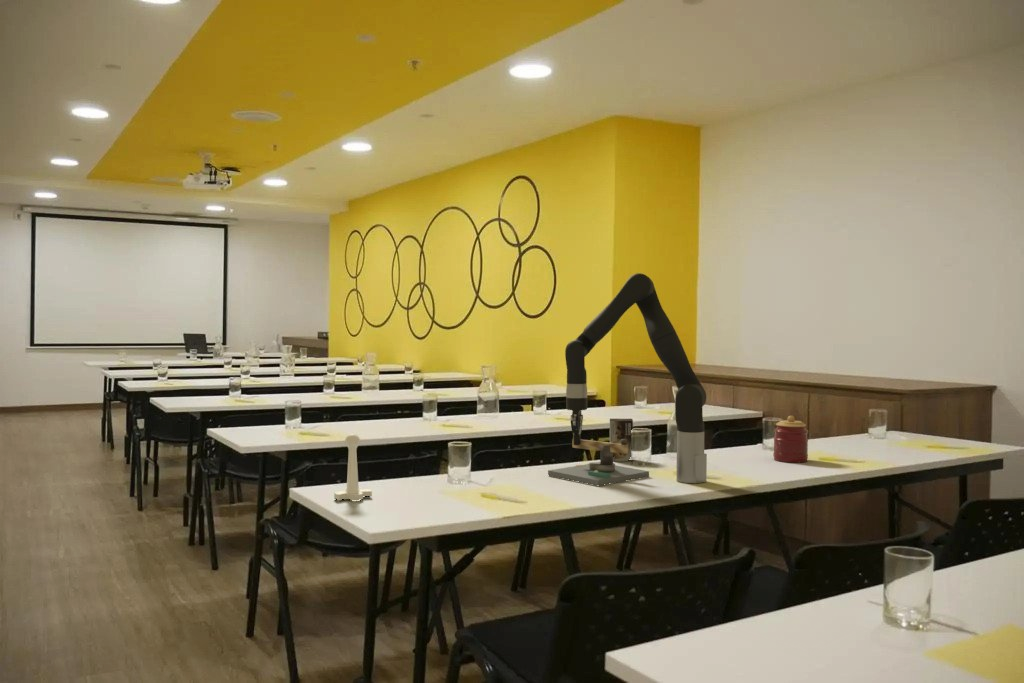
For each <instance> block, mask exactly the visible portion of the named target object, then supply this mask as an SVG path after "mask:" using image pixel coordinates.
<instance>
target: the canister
mask: <svg viewBox="0 0 1024 683" xmlns="http://www.w3.org/2000/svg"><path fill="white" fill-rule="evenodd" d="M775 426H776V428H774V429H773V432H774V437H773V459H774V460H775V461H777V462H781V463H794V464H795V463H796V464H797V463H798V464H799V463H806V462H808V459H809V457H808V456H809V454H808V453H809V452H808V449H809V448H808V446H809V444H808V443H809V438H808V433H809V430H808V429H807V428H806V426H807V424H806V423H804V422H803V421H801V420H795V416H794V415H789V416H788V417H787V419H786V420H785V419H784V420H783V419H782V420H780V421H779V422H776V423H775ZM774 460H773V461H774Z"/></svg>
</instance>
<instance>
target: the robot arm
mask: <svg viewBox="0 0 1024 683" xmlns="http://www.w3.org/2000/svg"><path fill="white" fill-rule="evenodd" d="M635 304H636V305H637V307H638V309H639V311H640V314H641V315H642V317H643V321H644V324H645V327H646V332H647V335H648V338H649V339H650V343H651V345H652V347H653V349H654V351H655V353H656V355H657V357H658V358H659V360H660V361H661V363H662V364H663V365H664V367H665V368H666V369H667V371H668V372H669V373H670V374H671V376H672V378H673V380H674V382H675V385H676V388H677V391H676V394H675V402H674V404H675V405H674V408H675V409H674V411H675V412H674V414H675V423H676V481H677V482H679V483H686V484H701V483H706V482H707V470H708V469H707V464H708V462H707V460H708V458H707V453H705V422H704V419H703V407H704V406H705V404H706V402H707V392H706V390H705V388H704V386H703V385H702V383H701V382H700V380H699V379H698V376H697V375H696V373H695V372H694V370H693V368H692V366H691V363H690V360H689V358H688V356H687V354H686V352H685V349H684V347H683V344H682V342H681V340H680V337H679V336H678V333H677V331H676V329H675V327H674V326H673V324H672V322H671V320H670V318H669V317H668V315H667V314H666V312H665V310H664V309H663V307H662V304H661V302H660V299H659V296H658V294H657V291H656V288H655V284H654V281H653V280H652V279H651V278H650V277H649V276H648V275H646V274H644V273H639V272H638V273H637V272H636V273H634V274H632V275H630V276H629V278H627V280H626V282H624V284H623V286H622V287H621V289H620V290H619V292H618V293H617V294H616V295H615V297H614V298H613V299H612V300H611V301H610V302H609V303H608V304H607V306H605V308H603V310H601V311H600V312H599V313H598V314H597V315H596V316H595V317H594V318H593V319H592V320H591V321H590V322H589V323H588V324H587V325H586V327H584V329H583V331H582V332H581V334H580V335H578V336H577V337H576V338H575V339H574V340H571V341H570V342H568V343H567V344H566V347H565V350H564V351H565V352H564V355H565V357H564V358H565V366H566V388H565V397H566V398H565V401H566V403H565V404H566V405H565V407H566V410H568V411H572V412H571V415H570V428H571V434H572V435H574V445H580V439H581V434H582V432H583V421H584V415H583V414H582V411H586V410H587V409H588V386H587V385H588V384H587V382H588V380H587V375H588V374H587V369H586V367H585V366H586V364H585V362H586V360H585V359H586V358H585V357H587V355H588V354H589V353H591V351H592V350H593V349H594V348H595V346H596V345H597V344H598V343H599V342H600V341H601V340H603V338H605V336H607V334H608V333H610V332H611V330H612V329H613V328H614V327H615V326H616V324H617V323H618V322H619V320H620V319H621V318H622V316H624V314H625V313H626V312H627V311H628V310H629V309H630V308H631V307H632V306H633V305H635Z"/></svg>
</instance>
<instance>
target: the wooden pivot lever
mask: <svg viewBox="0 0 1024 683" xmlns="http://www.w3.org/2000/svg"><path fill="white" fill-rule="evenodd" d="M572 435H573V434H572ZM571 441H572V442H571V443H572V447H571V448H574V449H582V450H590V451H597V452H599V451H600V452H599V454H600V460H599V461H593V462H590V463H588V464H589V470H591V471H595V470H597V471H599V472H611V471H615V465H616V463H614V461H613V452H614V453H622V454H626V453H628V444H627V439H621V444H618V443H610V441H609V442H608V441H599V440H589V439H582V438H580V445H574V435H573V436H572V439H571Z"/></svg>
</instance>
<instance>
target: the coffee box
mask: <svg viewBox="0 0 1024 683" xmlns="http://www.w3.org/2000/svg"><path fill="white" fill-rule="evenodd" d="M632 429H633V430H634V421H633V418H609V443H618V444H621V439H627V444H628V453H626V454H622V453H614V452H613V462H629V461H628V460H629V459H630V457H631V430H632Z"/></svg>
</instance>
